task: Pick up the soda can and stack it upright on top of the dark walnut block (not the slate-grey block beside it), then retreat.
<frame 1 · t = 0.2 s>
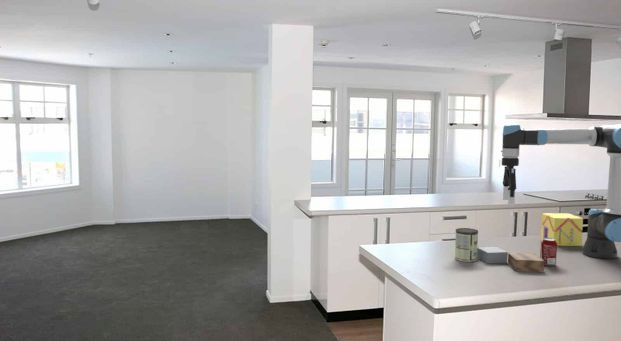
hand: (508, 201, 235), 27 cm above the countertop, fingers open, 13 cm apart
slate-grey block: (491, 260, 234), on the countertop
coffee can: (465, 259, 235), on the countertop
toy block: (560, 242, 272), on the countertop
soda can: (547, 264, 227), on the countertop
walnut block: (525, 267, 222), on the countertop
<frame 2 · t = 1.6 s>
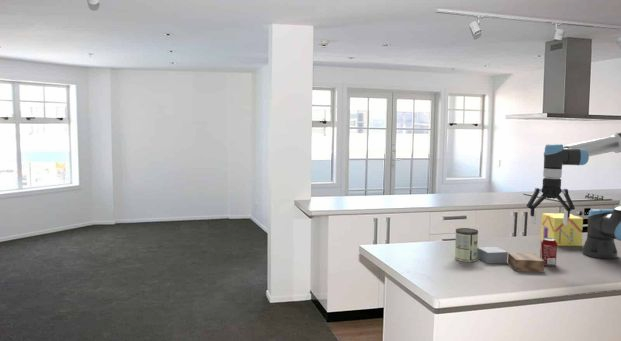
hand: (549, 224, 225), 19 cm above the countertop, fingers open, 13 cm apart
nothing on the countertop moved.
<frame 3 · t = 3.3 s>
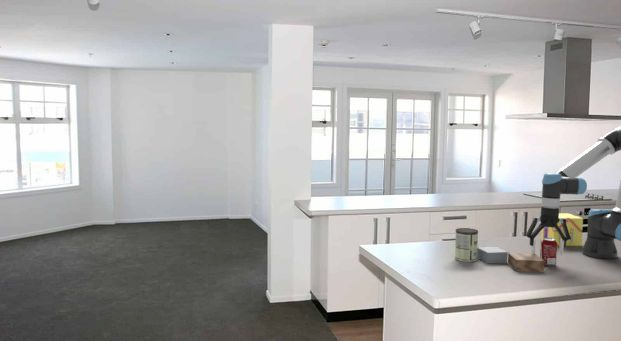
hand: (547, 253, 227), 5 cm above the countertop, fingers open, 12 cm apart
nothing on the countertop moved.
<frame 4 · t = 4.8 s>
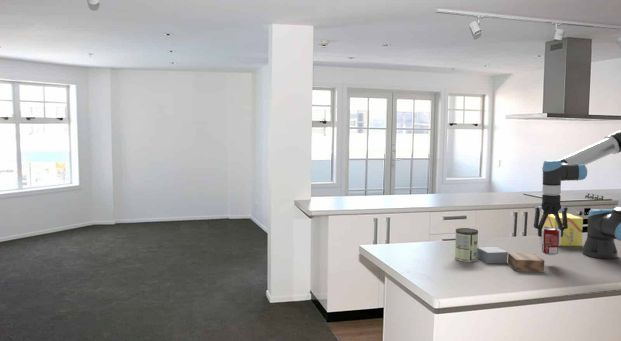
hand: (550, 243, 226), 10 cm above the countertop, fingers closed on soda can, 7 cm apart
soda can: (549, 254, 227), point 5 cm above the countertop, touching gripper
everything else where it was.
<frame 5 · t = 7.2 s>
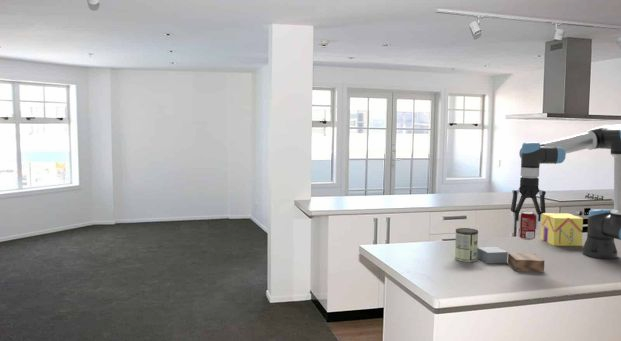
hand: (527, 228, 220), 18 cm above the countertop, fingers closed on soda can, 7 cm apart
soda can: (526, 239, 220), point 13 cm above the countertop, touching gripper
everything else where it was.
when the fingers open (10 cm above the countertop, at t = 9.8 s): soda can stays where it is, resting on walnut block.
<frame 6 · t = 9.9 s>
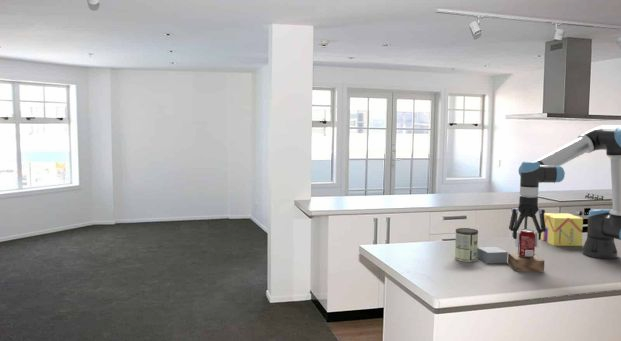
hand: (526, 246, 221), 10 cm above the countertop, fingers open, 8 cm apart
soda can: (525, 257, 221), point 5 cm above the countertop, touching walnut block
everything else where it was.
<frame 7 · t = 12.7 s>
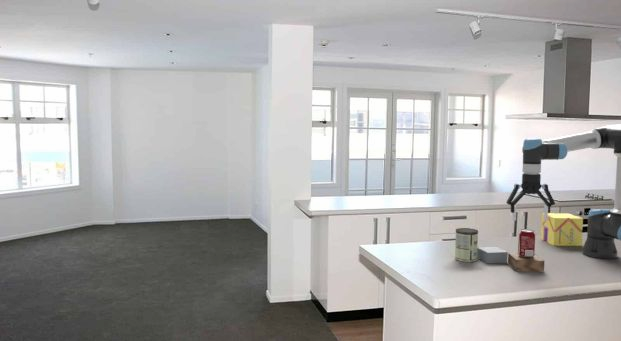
hand: (529, 220, 222), 21 cm above the countertop, fingers open, 13 cm apart
nothing on the countertop moved.
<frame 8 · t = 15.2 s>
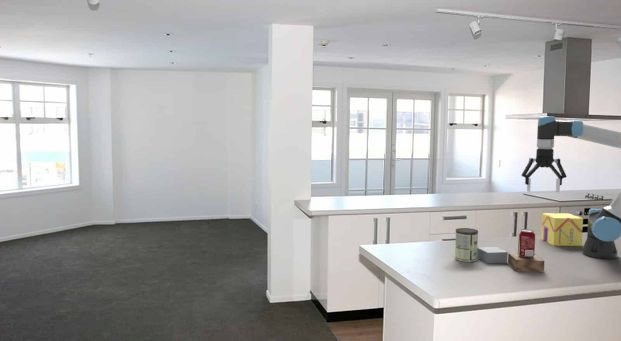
hand: (542, 191, 241), 32 cm above the countertop, fingers open, 13 cm apart
nothing on the countertop moved.
at the end: soda can 0.1 cm from the walnut block (horizontally); soda can tilted 0°; soda can touching walnut block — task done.
